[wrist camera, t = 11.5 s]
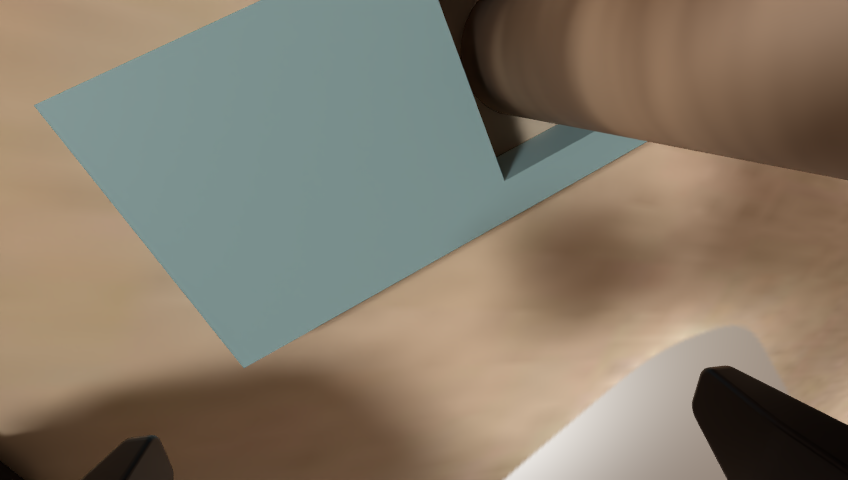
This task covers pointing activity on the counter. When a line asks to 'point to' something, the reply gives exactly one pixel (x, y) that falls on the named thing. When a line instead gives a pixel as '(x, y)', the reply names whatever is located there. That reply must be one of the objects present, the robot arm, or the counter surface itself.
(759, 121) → the pepper mill
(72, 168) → the counter surface
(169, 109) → the socket stand
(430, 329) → the counter surface
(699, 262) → the counter surface
